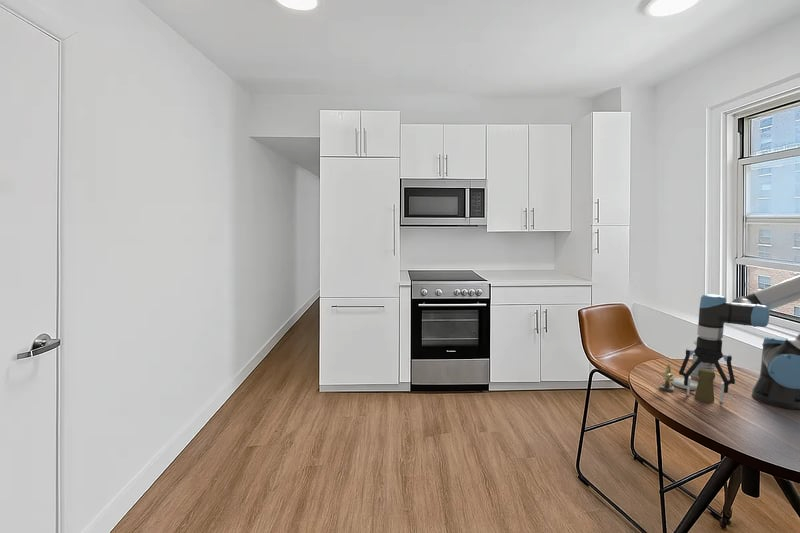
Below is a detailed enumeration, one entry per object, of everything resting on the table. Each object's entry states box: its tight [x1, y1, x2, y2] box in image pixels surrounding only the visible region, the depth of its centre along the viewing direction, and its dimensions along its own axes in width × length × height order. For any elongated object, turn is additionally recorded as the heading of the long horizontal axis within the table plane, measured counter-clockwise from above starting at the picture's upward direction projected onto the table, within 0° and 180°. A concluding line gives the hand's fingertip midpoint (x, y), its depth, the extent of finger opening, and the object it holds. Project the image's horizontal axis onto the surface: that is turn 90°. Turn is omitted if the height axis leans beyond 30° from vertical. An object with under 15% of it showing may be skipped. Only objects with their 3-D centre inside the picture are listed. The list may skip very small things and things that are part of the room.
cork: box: [694, 369, 716, 403], centre depth 163 cm, size 6×6×11 cm
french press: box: [689, 340, 717, 380], centre depth 187 cm, size 10×12×25 cm
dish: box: [671, 377, 698, 391], centre depth 176 cm, size 10×10×1 cm
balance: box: [659, 363, 675, 393], centre depth 172 cm, size 4×12×11 cm, turn 145°
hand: (704, 397), depth 163 cm, fingers open, 9 cm apart
